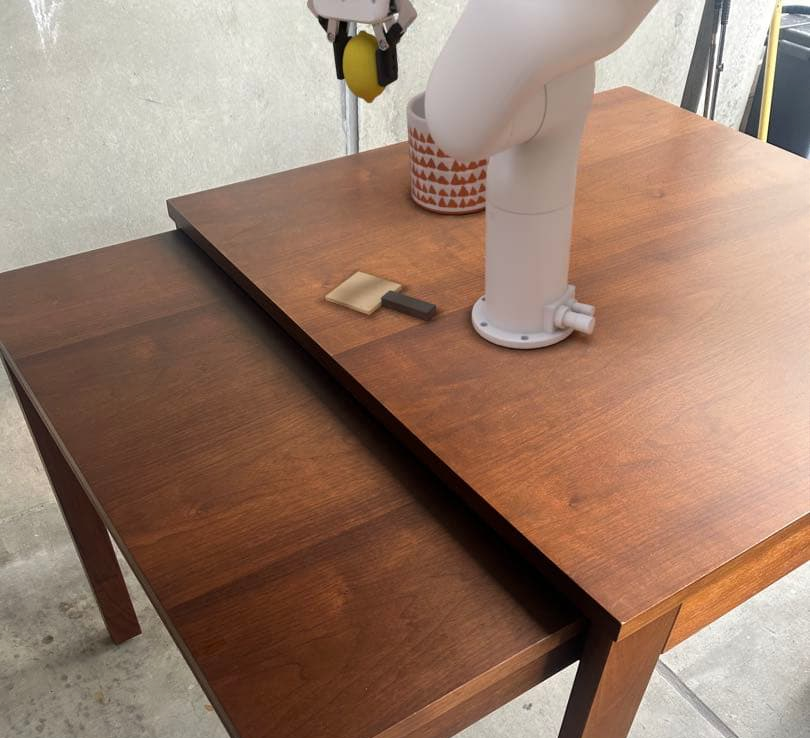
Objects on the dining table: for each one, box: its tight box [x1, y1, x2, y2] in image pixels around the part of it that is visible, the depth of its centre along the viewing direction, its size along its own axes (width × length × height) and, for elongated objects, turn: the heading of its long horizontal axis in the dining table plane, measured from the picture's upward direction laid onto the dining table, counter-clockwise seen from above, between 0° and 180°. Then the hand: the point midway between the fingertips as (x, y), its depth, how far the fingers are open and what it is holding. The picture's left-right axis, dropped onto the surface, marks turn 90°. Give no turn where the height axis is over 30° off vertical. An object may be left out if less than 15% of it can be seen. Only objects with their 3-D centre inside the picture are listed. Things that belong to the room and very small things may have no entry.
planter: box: [406, 90, 490, 215], centre depth 123 cm, size 14×14×13 cm
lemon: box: [343, 29, 387, 104], centre depth 103 cm, size 6×6×8 cm
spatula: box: [324, 270, 437, 322], centre depth 108 cm, size 14×7×1 cm, turn 55°
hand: (367, 78), depth 104 cm, fingers closed on lemon, 5 cm apart
